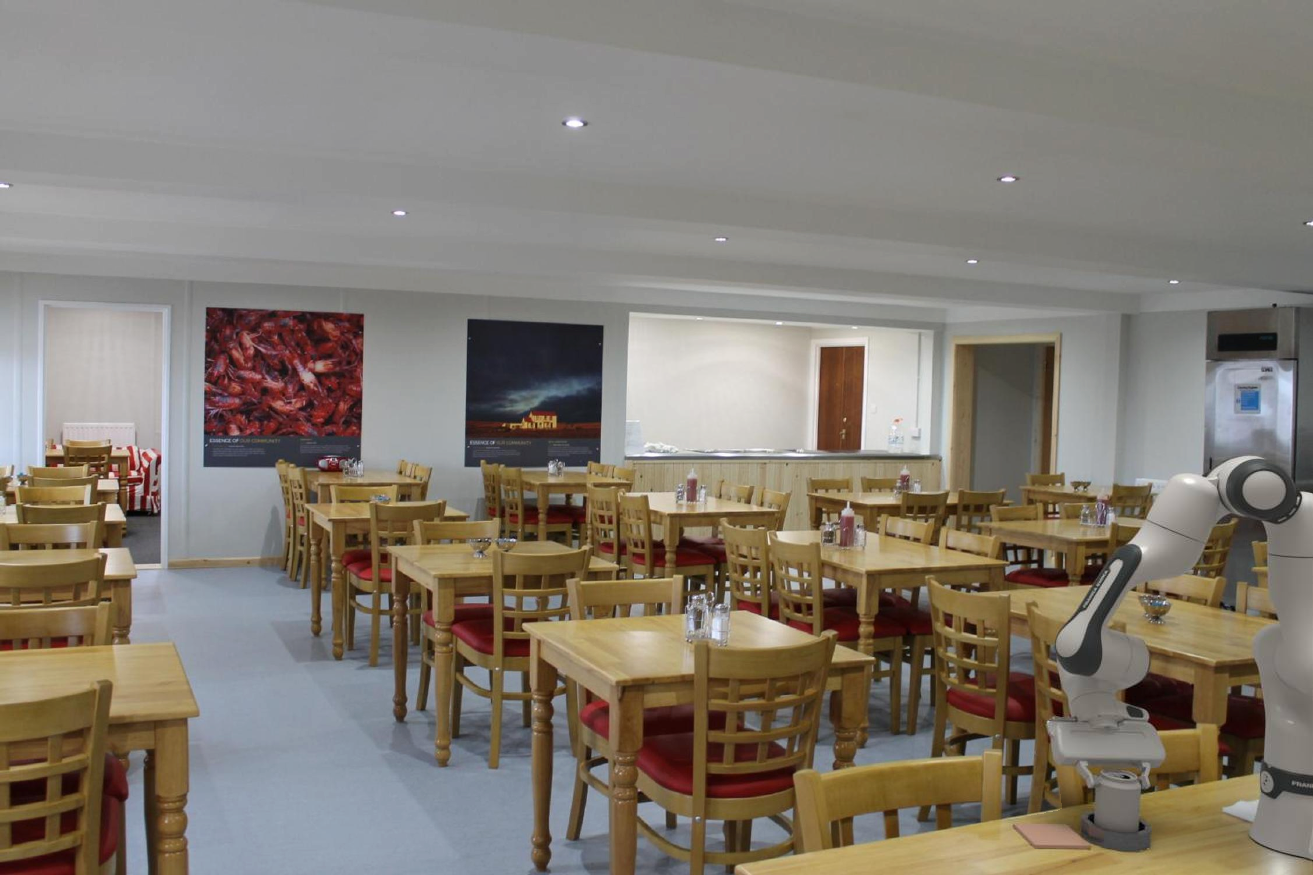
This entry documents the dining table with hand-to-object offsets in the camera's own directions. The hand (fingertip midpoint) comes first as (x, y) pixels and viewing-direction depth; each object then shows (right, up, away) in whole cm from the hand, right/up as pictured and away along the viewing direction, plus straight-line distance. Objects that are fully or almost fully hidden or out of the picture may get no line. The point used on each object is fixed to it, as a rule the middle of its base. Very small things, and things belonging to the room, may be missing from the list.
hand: (1119, 787), depth 203 cm
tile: (-12, -9, 0) cm, 15 cm away
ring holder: (0, -10, +1) cm, 10 cm away
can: (0, -10, +1) cm, 10 cm away
